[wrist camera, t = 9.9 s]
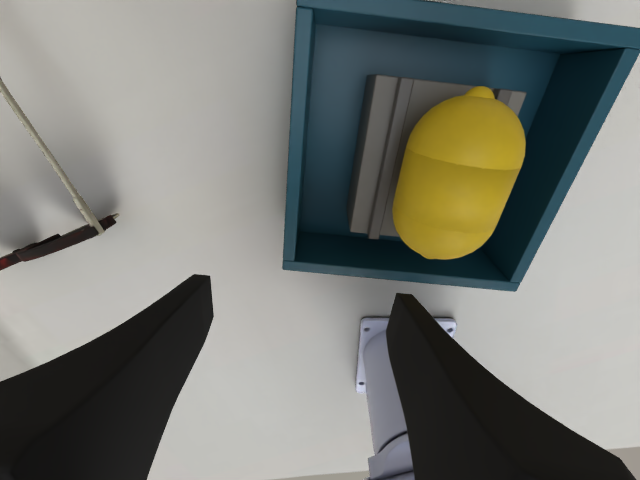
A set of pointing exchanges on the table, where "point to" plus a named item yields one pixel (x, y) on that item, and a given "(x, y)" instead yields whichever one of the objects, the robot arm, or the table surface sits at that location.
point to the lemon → (457, 174)
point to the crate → (452, 67)
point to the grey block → (394, 143)
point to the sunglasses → (94, 225)
